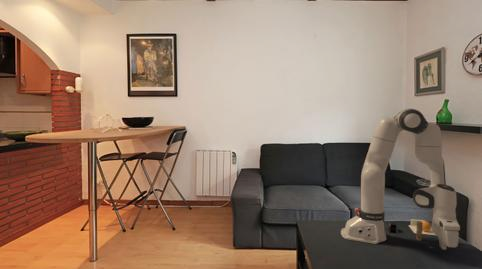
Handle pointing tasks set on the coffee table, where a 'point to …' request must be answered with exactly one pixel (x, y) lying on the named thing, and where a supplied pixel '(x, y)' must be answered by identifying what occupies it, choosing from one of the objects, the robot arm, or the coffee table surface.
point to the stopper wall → (415, 222)
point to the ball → (426, 226)
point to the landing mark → (422, 230)
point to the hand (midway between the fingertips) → (442, 248)
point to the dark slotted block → (392, 228)
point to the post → (419, 231)
